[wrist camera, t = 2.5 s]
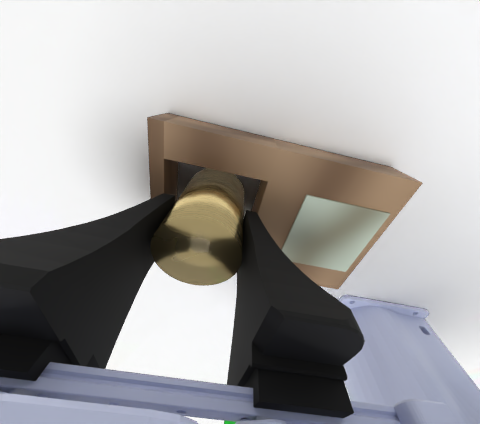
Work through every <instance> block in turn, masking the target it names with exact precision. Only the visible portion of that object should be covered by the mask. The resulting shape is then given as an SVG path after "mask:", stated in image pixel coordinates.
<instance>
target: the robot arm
mask: <svg viewBox="0 0 480 424" xmlns="http://www.w3.org/2000/svg"><path fill="white" fill-rule="evenodd" d="M174 204H175V195H170V194H166V193H163V194H161V195H158V196H156V197H154V198H152V199H150V200H147V201H145V202H143V203H141V204H139V205H136V206H134V207H131V208H129V209H126V210H124V211H121V212H119V213H116V214H114V215H111V216H108V217H105V218H102V219H98V220H95V221H92V222H88V223H84V224H80V225H76V226H72V227H67V228H63V229H59V230H54V231H49V232H44V233H38V234H32V235H26V236H20V237H13V238H5V239H0V424H198V423H197V421H194V420H192V419H189V418H187V417H184V416H190V417H199V418H207V419H216V420H225V421H234V422H236V423H235V424H480V390H479V388H478V387H477V386H476V384H475V383H474V382H473V380H472V379H471V378H470V377H469V375H468V374H467V373H466V372H465V370H464V369H463V368H462V366H461V365H460V364H459V363H458V361H457V360H456V359H455V358H454V356H453V355H452V354H451V352H450V351H449V350H448V349H447V347H446V346H445V345H444V343H443V342H442V341H441V340H440V338H439V337H438V336H437V335H436V333H435V332H434V331H433V329H432V328H431V327H430V326H429V324H428V323H427V322H426V321H425V319H424V318H426V317H427V316H428V315H429V312H428V311H427V310H426V309H422V308H417V307H411V306H405V305H400V304H394V303H389V302H383V301H377V300H372V299H366V298H360V297H355V296H349V295H344V296H342V297H341V298H340V299H339V300H337V299H336V298H334V297H333V296H332V295H330V294H329V293H327V292H326V291H325V290H323V289H322V288H321V287H320V286H318V285H317V284H316V283H315V282H313V281H312V280H311V279H310V278H309V277H308V276H306V275H305V274H304V273H303V272H302V271H301V270H300V269H299V268H298V267H297V266H296V265H295V264H294V263H293V262H292V261H291V260H290V259H289V258H288V257H287V256H286V255H285V254H284V252H283V251H282V250H281V249H280V248H279V246H278V245H277V244H276V242H275V241H274V240H273V238H272V237H271V235H270V234H269V232H268V231H267V229H266V228H265V226H264V224H263V223H262V221H261V219H260V217H259V216H258V214H257V212H253V211H248V210H246V213H245V216H244V220H243V245H242V262H241V265H240V268H239V270H238V271H237V298H236V309H235V319H234V328H233V338H232V346H231V355H230V363H229V372H228V380H227V385H225V384H217V383H209V382H202V381H194V380H186V379H178V378H171V377H163V376H155V375H147V374H140V373H132V372H124V371H116V370H108V369H105V368H106V365H107V363H108V360H109V358H110V355H111V353H112V350H113V348H114V345H115V343H116V340H117V338H118V336H119V333H120V331H121V329H122V326H123V324H124V322H125V319H126V317H127V315H128V312H129V310H130V308H131V306H132V304H133V301H134V299H135V297H136V295H137V293H138V291H139V288H140V286H141V284H142V282H143V280H144V278H145V276H146V274H147V273H148V271H149V269H150V268H151V266H152V264H153V263H154V259H153V257H152V254H151V248H150V247H151V240H152V237H153V235H154V234H155V232H156V231H157V229H158V228H159V226H160V225H161V223H162V222H163V220H164V219H165V217H166V216H167V214H168V213H169V211H170V210H171V208H172V207H173V206H174ZM344 382H345V384H344ZM345 385H346V387H345ZM346 388H347V390H346ZM347 391H348V393H347ZM348 394H349V396H348ZM349 397H350V399H349ZM350 400H351V401H350Z"/></svg>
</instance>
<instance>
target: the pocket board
mask: <svg viewBox="0 0 480 424" xmlns="http://www.w3.org/2000/svg"><path fill="white" fill-rule="evenodd" d="M147 121H148V146H149V170H150V195H151V199H152V198H154V197H156V196H158V195H161V194H163V193H166V194H170V195H175V203H176V201H177V187H178V164H179V162H182V163H187V164H191V165H196V166H200V167H205V168H209V169H214V170H218V171H223V172H227V173H232V174H236V175H241V176H245V177H250V178H254V179H259V180H261V181H260V184H259V188H258V191H257V194H256V198H255V201H254V204H253V208H252V211H253V212H257V214H258V216H259V217H260V219H261V221H262V223H263V224H264V226H265V228H266V229H267V231H268V232H269V234H270V235H271V237H272V238H273V240H274V241H275V242H276V244H277V245H278V246H279V248H280V249H281V250H282V251H283V252H284V254H285V255H286V256H287V257H288V258H289V259H290V260H291V261H292V262H293V263H294V264H295V265H296V266H297V267H298V268H299V269H300V270H301V271H302V272H303V273H304V274H305V275H306V276H308V277H309V278H310V279H311V280H312V281H313V282H315V283H316V284H317V285H318V286H323V287H328V288H334V289H339V287H340V286H341V285H342V284H343V282H344V281H345V280H346V279H347V277H348V276H349V275H350V274H351V272H352V271H353V270H354V269H355V267H356V266H357V265H358V264H359V262H360V261H361V260H362V259H363V257H364V256H365V255H366V253H367V252H368V251H369V250H370V248H371V247H372V246H373V245H374V243H375V242H376V241H377V240H378V238H379V237H380V236H381V235H382V233H383V232H384V231H385V230H386V228H387V227H388V226H389V225H390V223H391V222H392V221H393V220H394V218H395V217H396V216H397V215H398V213H399V212H400V211H401V210H402V208H403V207H404V206H405V205H406V203H407V202H408V201H409V199H410V198H411V197H412V196H413V194H414V193H415V192H416V191H417V189H418V188H419V187H420V186H421V184H422V182H420V181H418V180H416V179H414V178H412V177H410V176H408V175H406V174H404V173H402V172H400V171H398V170H396V169H394V168H392V167H389V166H385V165H380V164H376V163H372V162H368V161H364V160H360V159H356V158H352V157H347V156H343V155H339V154H335V153H331V152H327V151H323V150H318V149H314V148H310V147H306V146H302V145H298V144H294V143H289V142H285V141H281V140H277V139H273V138H269V137H265V136H260V135H256V134H252V133H248V132H244V131H240V130H236V129H232V128H227V127H223V126H219V125H215V124H211V123H207V122H203V121H198V120H194V119H190V118H186V117H182V116H178V115H174V114H169V113H165V114H161V115H156V116H152V117H147Z"/></svg>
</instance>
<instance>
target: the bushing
mask: <svg viewBox="0 0 480 424" xmlns="http://www.w3.org/2000/svg"><path fill="white" fill-rule="evenodd" d="M243 220H244V188H243V186H242V183H241V182H240V180H239V179H238V178H237V177H236V176H235V175H234V174H232V173H227V172H223V171H218V170H214V169H209V168H206V169H203V170H201V171H199V172H198V173H196V174H195V175H194V176H193V178H192V179H191V180H190V182H189V183H188V185H187V186H186V188H185V189H184V191H183V192H182V194H181V195H180V197H179V198H178V200H177V201H176V203H175V204H174V206H173V207H172V208H171V210H170V211H169V213H168V214H167V216H166V217H165V219H164V220H163V222H162V223H161V225H160V226H159V228H158V229H157V231H156V232H155V234H154V235H153V237H152V240H151V247H150V248H151V254H152V257H153V259H154V261H155V262H156V264H157V265H158V266H159V267H160V268H161V269H162V270H163V271H164V272H165V273H166V274H168V275H169V276H171V277H173V278H175V279H177V280H179V281H182V282H185V283H188V284H193V285H214V284H218V283H221V282H224V281H226V280H228V279H230V278H231V277H232V276H233V275H235V273H236V272H237V271H238V270H239V268H240V265H241V262H242V245H243Z"/></svg>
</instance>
